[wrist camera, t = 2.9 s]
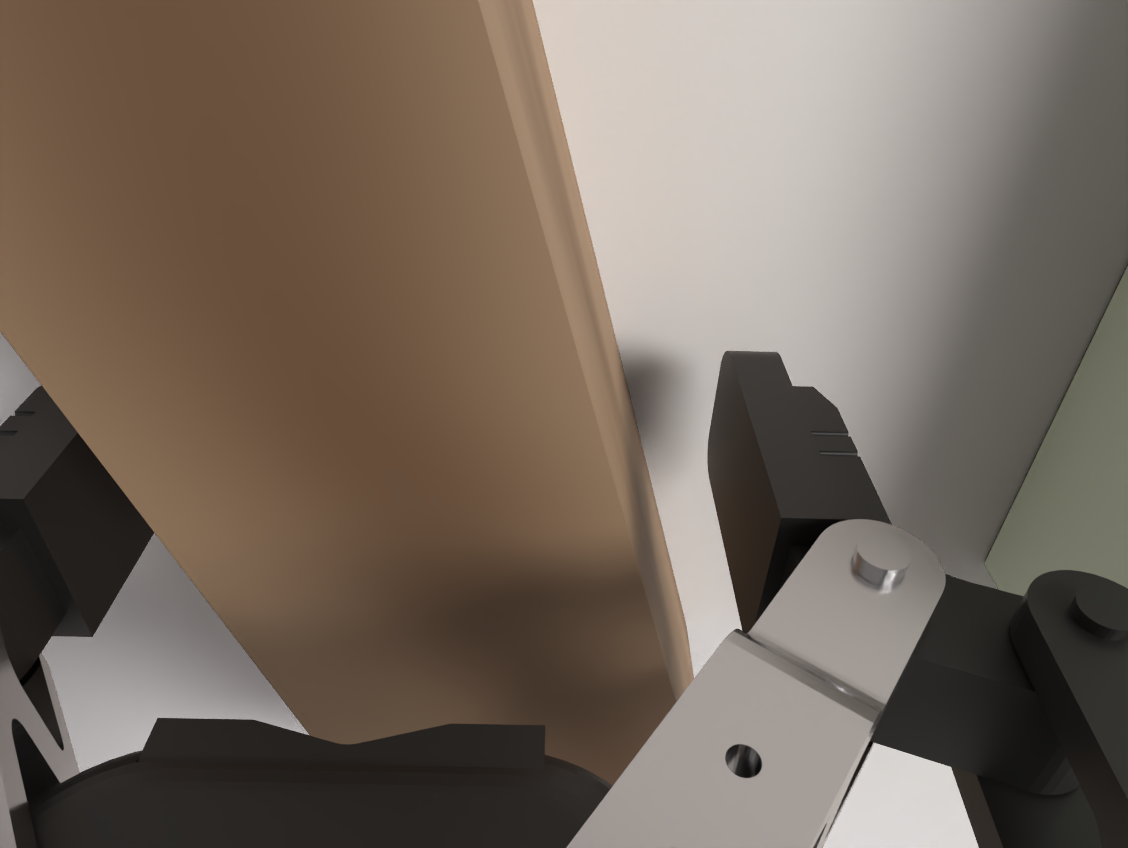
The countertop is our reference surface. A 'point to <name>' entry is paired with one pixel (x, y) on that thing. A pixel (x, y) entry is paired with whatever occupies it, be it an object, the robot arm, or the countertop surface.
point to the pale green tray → (1077, 474)
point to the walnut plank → (346, 351)
